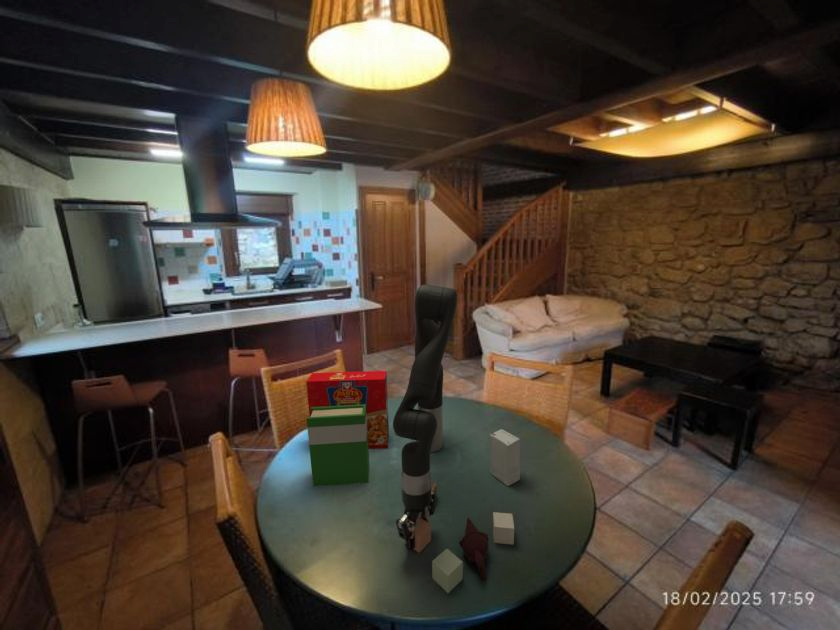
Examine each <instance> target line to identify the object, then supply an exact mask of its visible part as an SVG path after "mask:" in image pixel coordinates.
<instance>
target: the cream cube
mask: <svg viewBox="0 0 840 630" xmlns="http://www.w3.org/2000/svg"><path fill="white" fill-rule="evenodd" d="M492 534H493V535H492V537H493V538H492V539H493V544H504V545H514V543H515V542H514V541H515V540H514V539H515V524H514V517H513V513H509V512H508V513H507V512H498V511H497V512H496V511H495V512H494V511H493V512H492Z"/></svg>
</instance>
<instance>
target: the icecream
mask: <svg viewBox="0 0 840 630" xmlns="http://www.w3.org/2000/svg"><path fill="white" fill-rule="evenodd" d="M458 544H459V546H460V548H461V549H462V552H463V554H464V555H465V558H467V559H468V561H470V563H476V566H477V568H478V572H479V576H480V577H481V579H482V580H485V579H486V578H487V568H486V565H485V559H486V558H487V556H488V551H489V535H488V534H487V533H486V532H485V533H484V532H482V531H479V529H478V528H477V527H476V525H475V523H474V522H473V521H472V520H471V518H470V517H467V518H466V525H465V532H464V536H463V537H462V538H461V539H460V540H459V542H458Z"/></svg>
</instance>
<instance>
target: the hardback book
mask: <svg viewBox="0 0 840 630" xmlns="http://www.w3.org/2000/svg"><path fill="white" fill-rule="evenodd" d="M306 428H307V434H308V435H307V437H308V446H309V448H308V449H309V457H310V467H311V469H310V470H311V477H312V487H324V486H338V485H349V484H350V485H353V484H361V483H362V484H363V483H364V484H365V483H366V484H367V483H369V480H370V452H369V450H370V449H368V432H367V414H366V404H360V405H343V406H325V407H311V417H310V416H307V417H306Z"/></svg>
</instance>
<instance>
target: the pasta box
mask: <svg viewBox="0 0 840 630" xmlns="http://www.w3.org/2000/svg"><path fill="white" fill-rule="evenodd" d="M305 382H306V392H307V404H308V413H309V414H308V415H309V417H311V407H325V406H343V405H360V404H366V414H367V432H368V449H369V450H379V449H382V450H384V449H386V450H387V449H389V441H390V426H389V422H390V421H389V406H388V405H389V401H388V399H389V398H388V380H387V370H367V371H365V370H364V371H363V370H361V371H335V372H333V371H332V372H331V371H330V372H311V374H310V375H309V377H308V378H307V380H306V381H305Z"/></svg>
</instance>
